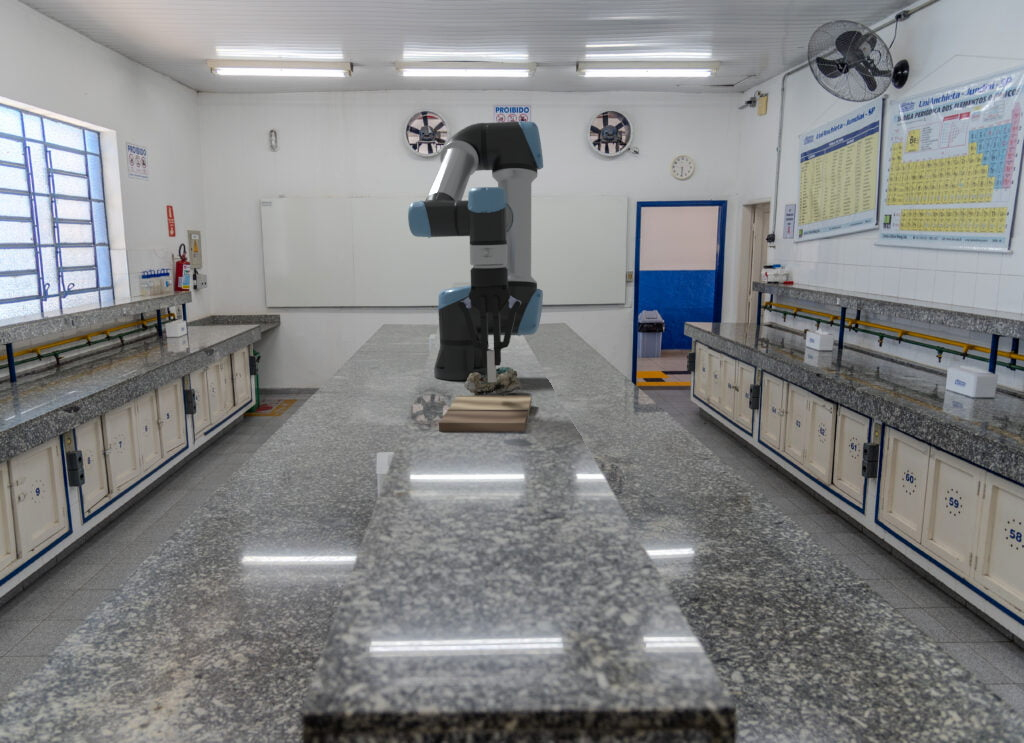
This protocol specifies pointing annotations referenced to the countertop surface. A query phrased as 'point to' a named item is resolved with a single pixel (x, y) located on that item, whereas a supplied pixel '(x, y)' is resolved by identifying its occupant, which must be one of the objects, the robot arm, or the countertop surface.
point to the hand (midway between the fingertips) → (492, 380)
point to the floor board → (484, 420)
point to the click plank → (492, 403)
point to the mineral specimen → (503, 383)
